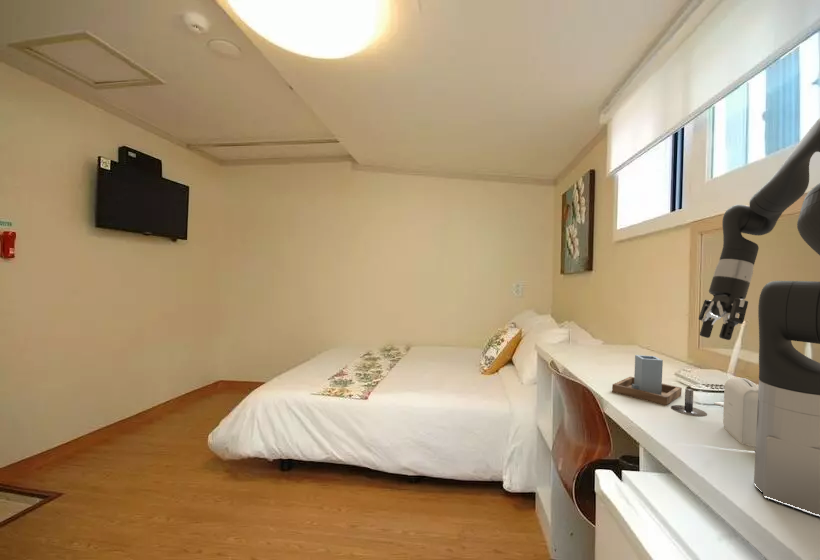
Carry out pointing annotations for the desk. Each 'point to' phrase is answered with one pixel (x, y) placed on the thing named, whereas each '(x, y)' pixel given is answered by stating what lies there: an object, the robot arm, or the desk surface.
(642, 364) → the blue square pencil cup
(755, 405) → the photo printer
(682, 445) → the desk surface
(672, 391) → the tray
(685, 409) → the round base metal stand
